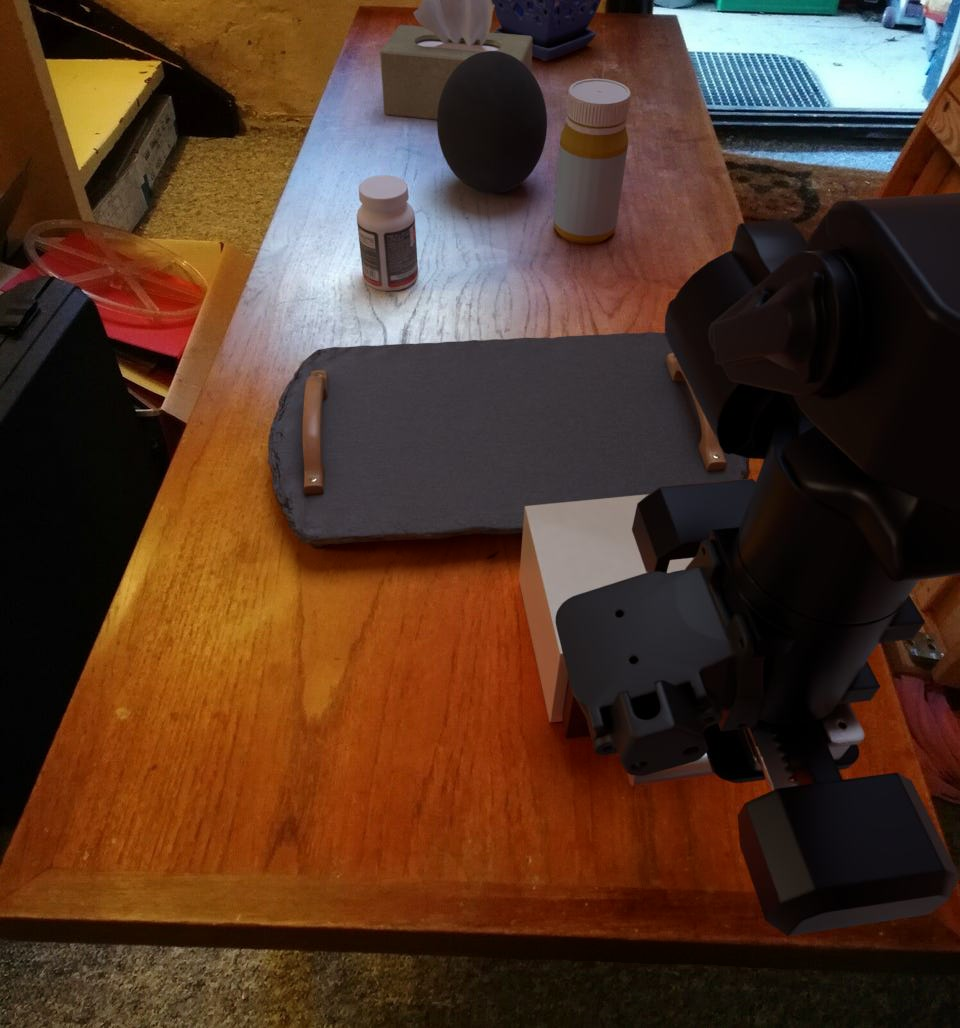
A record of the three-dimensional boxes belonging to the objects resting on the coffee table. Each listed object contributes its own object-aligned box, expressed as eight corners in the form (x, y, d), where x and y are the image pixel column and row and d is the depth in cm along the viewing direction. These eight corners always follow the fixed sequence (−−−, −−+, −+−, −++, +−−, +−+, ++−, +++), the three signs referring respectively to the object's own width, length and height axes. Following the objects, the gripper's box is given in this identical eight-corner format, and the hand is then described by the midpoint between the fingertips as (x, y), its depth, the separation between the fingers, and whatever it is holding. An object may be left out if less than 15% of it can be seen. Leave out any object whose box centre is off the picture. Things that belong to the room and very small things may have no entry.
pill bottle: (420, 263, 91) (416, 173, 83) (416, 293, 87) (411, 202, 80) (366, 261, 91) (357, 171, 84) (359, 292, 87) (349, 200, 80)
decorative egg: (559, 203, 100) (571, 67, 89) (460, 222, 97) (459, 84, 85) (517, 157, 107) (523, 26, 96) (424, 173, 104) (419, 40, 93)
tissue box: (381, 115, 115) (372, -18, 103) (400, 86, 121) (393, -43, 110) (520, 128, 113) (526, -6, 101) (531, 98, 119) (538, -32, 107)
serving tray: (696, 353, 81) (710, 297, 76) (775, 539, 66) (798, 482, 61) (282, 373, 78) (270, 316, 74) (262, 572, 63) (246, 516, 58)
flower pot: (539, 25, 138) (544, -62, 129) (604, 47, 132) (614, -42, 123) (482, 46, 132) (483, -43, 123) (548, 71, 126) (554, -21, 117)
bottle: (545, 239, 94) (556, 99, 83) (561, 209, 99) (574, 72, 88) (607, 251, 93) (627, 110, 82) (621, 220, 97) (641, 82, 86)
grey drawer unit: (723, 701, 56) (754, 631, 50) (549, 723, 55) (559, 654, 49) (672, 564, 64) (693, 489, 58) (518, 580, 63) (524, 505, 57)
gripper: (536, 395, 34) (518, 621, 46) (671, 869, 22) (599, 1013, 33) (802, 373, 35) (719, 599, 47) (1073, 812, 23) (869, 971, 35)
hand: (720, 764), depth 40 cm, fingers closed
